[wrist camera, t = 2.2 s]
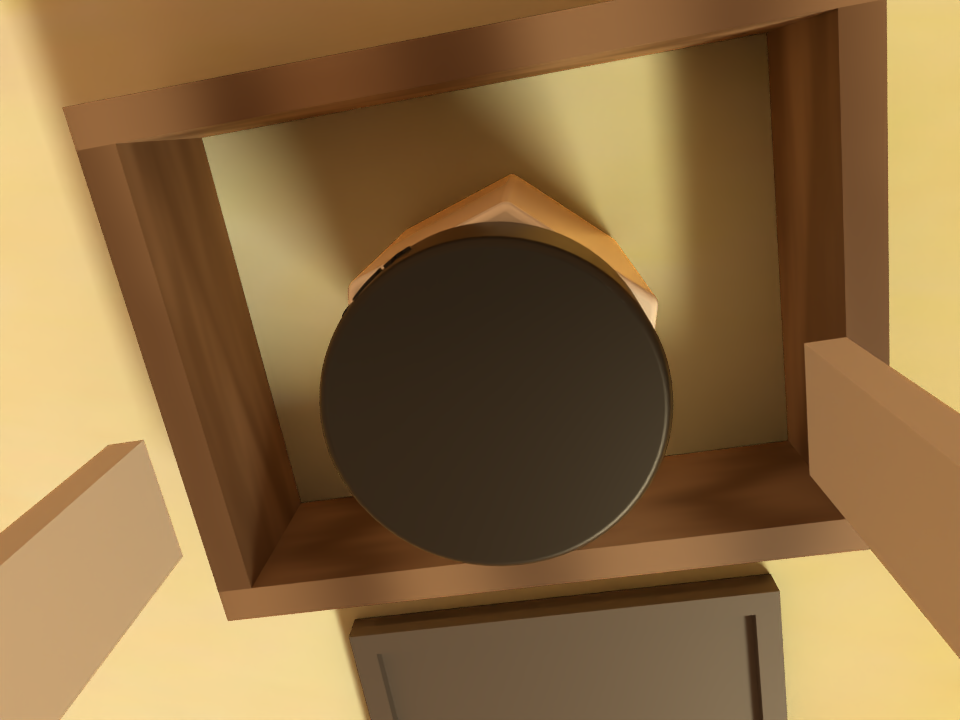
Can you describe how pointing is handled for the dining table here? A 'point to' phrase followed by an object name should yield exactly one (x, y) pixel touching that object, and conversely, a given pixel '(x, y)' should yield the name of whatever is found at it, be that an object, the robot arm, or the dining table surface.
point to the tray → (583, 657)
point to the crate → (449, 67)
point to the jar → (498, 382)
